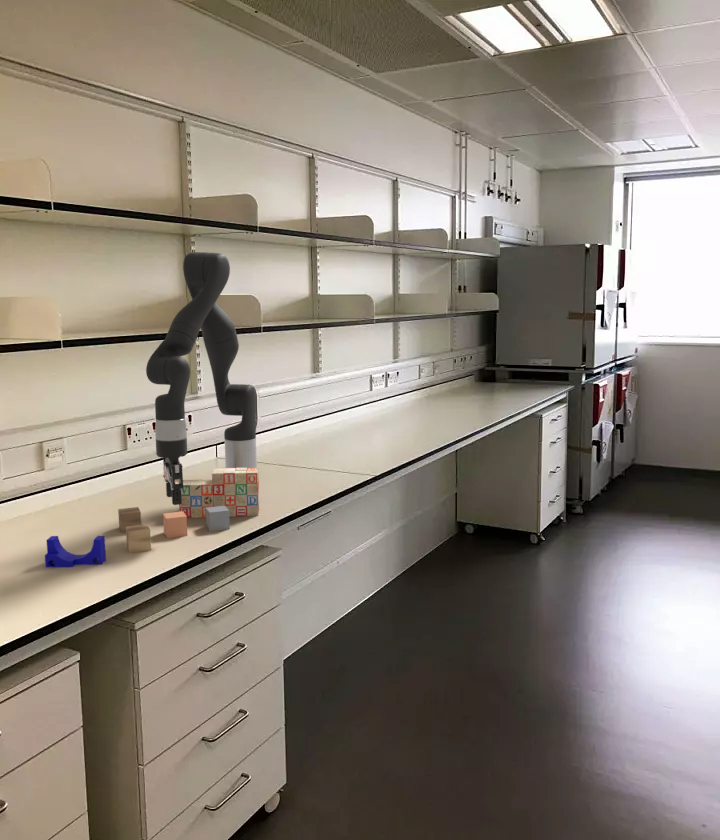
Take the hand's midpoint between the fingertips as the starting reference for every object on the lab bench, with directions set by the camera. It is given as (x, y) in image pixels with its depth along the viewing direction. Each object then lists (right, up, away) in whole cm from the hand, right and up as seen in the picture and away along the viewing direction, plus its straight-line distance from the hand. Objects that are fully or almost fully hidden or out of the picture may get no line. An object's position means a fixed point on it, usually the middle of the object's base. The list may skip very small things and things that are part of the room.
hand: (174, 500), depth 199 cm
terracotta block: (0, -9, +2) cm, 9 cm away
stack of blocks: (+8, -6, +19) cm, 22 cm away
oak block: (-6, -11, -10) cm, 15 cm away
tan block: (-13, -8, +6) cm, 16 cm away
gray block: (+10, -8, +7) cm, 14 cm away
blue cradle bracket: (-17, -13, -20) cm, 29 cm away
